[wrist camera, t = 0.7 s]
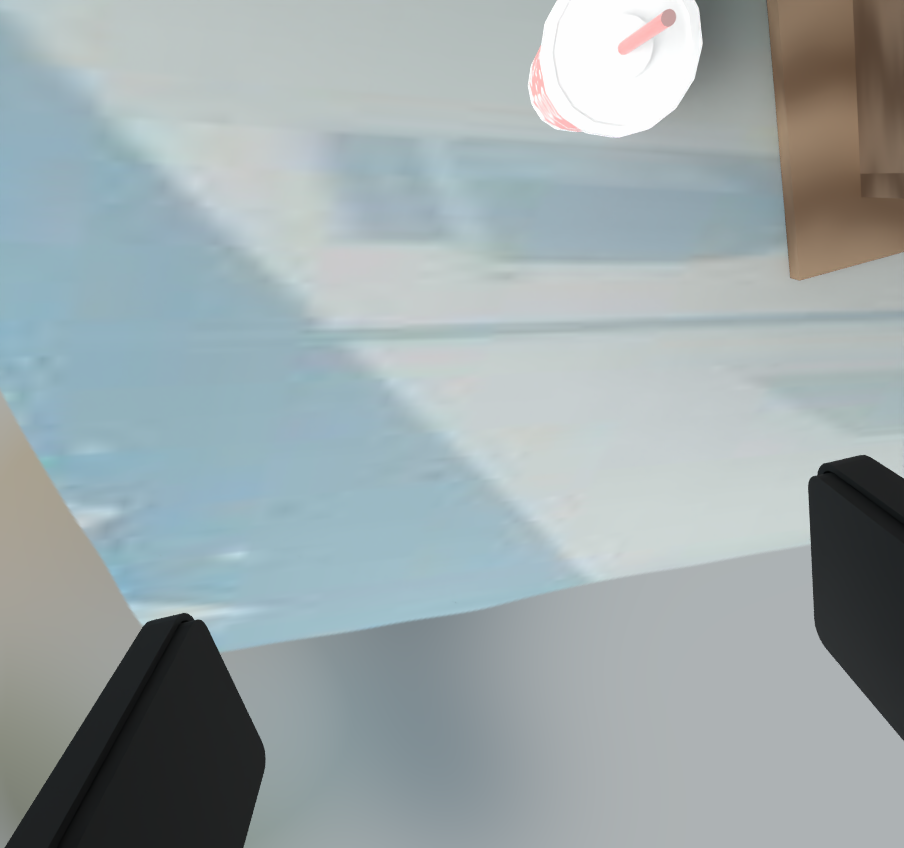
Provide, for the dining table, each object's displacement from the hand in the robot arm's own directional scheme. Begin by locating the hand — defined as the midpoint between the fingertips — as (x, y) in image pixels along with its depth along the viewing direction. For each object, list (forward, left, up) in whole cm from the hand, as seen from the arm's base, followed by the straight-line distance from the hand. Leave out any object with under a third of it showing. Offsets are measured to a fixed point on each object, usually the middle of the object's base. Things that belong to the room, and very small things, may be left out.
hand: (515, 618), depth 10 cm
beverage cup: (-9, +9, -29) cm, 31 cm away
